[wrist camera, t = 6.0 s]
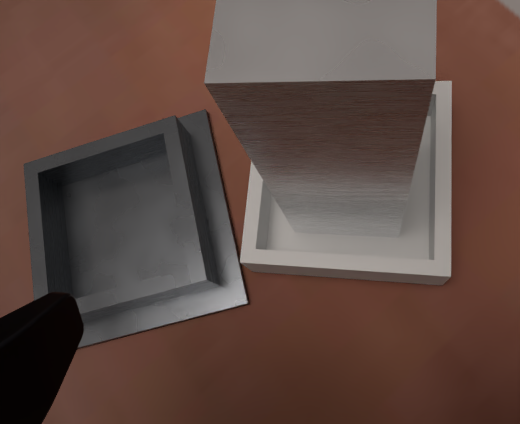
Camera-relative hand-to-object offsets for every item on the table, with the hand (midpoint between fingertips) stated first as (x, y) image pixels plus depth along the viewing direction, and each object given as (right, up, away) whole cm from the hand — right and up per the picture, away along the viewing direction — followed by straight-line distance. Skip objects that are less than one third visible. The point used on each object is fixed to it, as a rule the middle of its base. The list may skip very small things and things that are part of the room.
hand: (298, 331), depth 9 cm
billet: (+3, +3, +14) cm, 14 cm away
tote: (+3, +3, +14) cm, 15 cm away
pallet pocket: (-7, +1, +16) cm, 17 cm away
